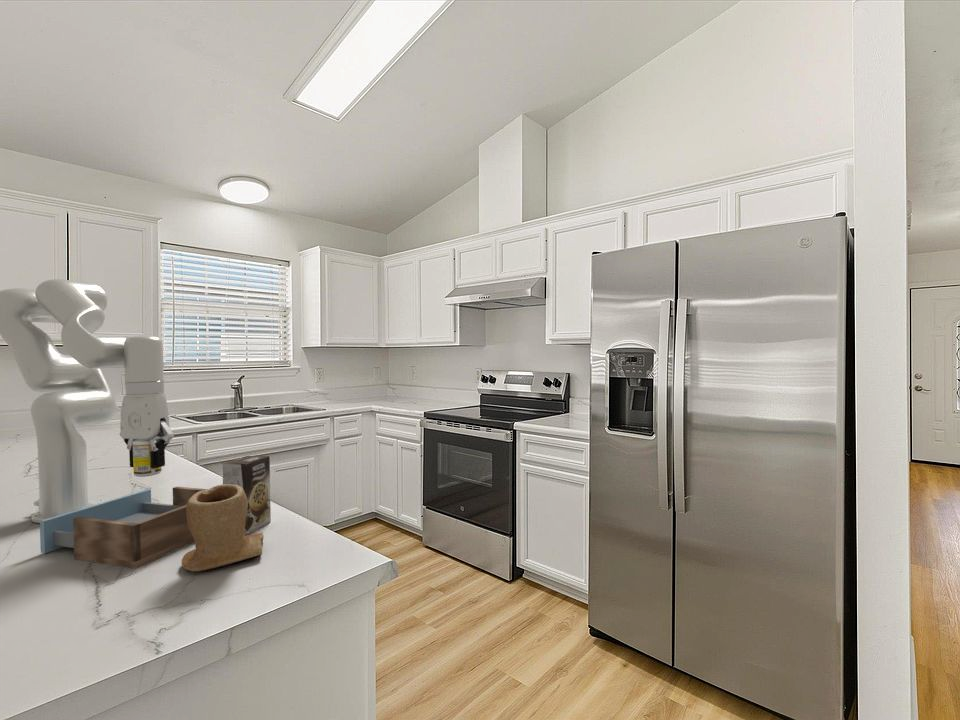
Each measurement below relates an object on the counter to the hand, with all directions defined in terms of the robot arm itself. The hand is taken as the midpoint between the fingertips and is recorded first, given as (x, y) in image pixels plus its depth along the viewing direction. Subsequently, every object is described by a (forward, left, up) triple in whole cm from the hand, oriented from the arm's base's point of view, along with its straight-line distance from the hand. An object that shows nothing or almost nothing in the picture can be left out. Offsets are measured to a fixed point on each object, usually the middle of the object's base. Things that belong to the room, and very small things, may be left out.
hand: (147, 465), depth 117 cm
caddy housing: (+9, -5, -15) cm, 18 cm away
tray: (0, -5, -14) cm, 15 cm away
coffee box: (+22, +7, -15) cm, 28 cm away
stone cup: (+32, -10, -15) cm, 37 cm away
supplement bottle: (0, 0, -2) cm, 2 cm away
